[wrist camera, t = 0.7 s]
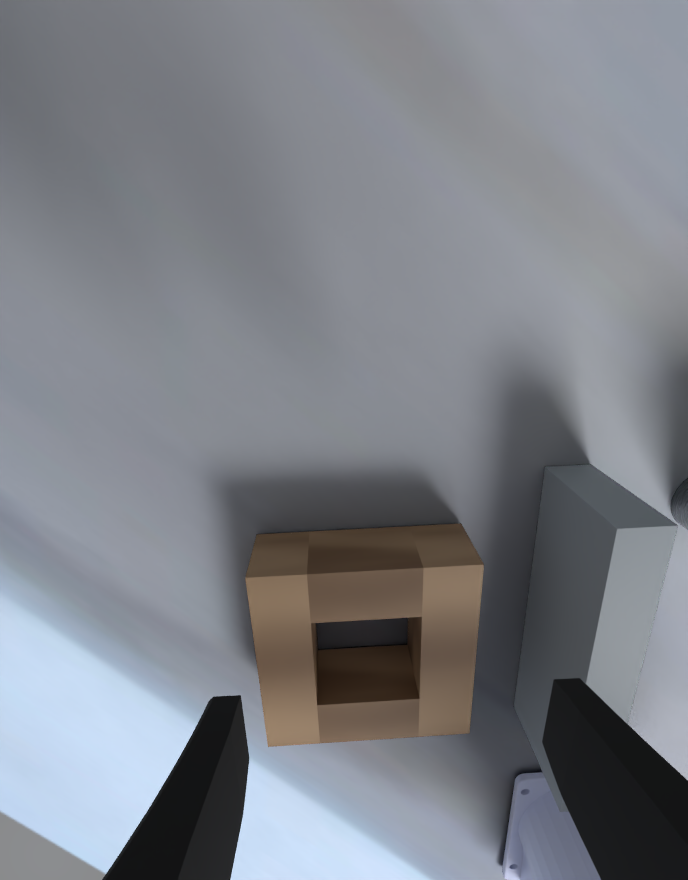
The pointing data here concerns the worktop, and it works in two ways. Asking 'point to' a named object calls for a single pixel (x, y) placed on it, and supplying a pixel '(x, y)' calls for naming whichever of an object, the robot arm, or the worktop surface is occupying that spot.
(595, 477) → the wall
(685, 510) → the dowel
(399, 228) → the worktop surface
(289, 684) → the block
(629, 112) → the worktop surface
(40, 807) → the worktop surface
